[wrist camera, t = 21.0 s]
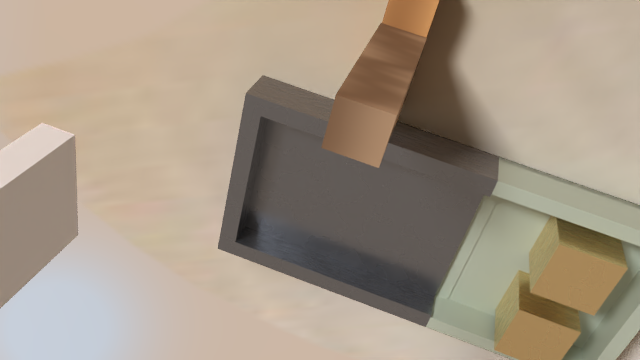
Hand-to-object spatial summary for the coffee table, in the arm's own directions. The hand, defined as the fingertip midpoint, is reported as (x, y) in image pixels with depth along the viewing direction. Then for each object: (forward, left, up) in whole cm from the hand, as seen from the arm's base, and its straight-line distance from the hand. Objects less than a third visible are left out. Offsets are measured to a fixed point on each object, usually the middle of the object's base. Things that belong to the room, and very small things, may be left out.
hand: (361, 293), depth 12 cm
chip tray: (-12, +16, -26) cm, 33 cm away
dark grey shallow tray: (+2, +16, -26) cm, 30 cm away
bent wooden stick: (+2, +4, -26) cm, 26 cm away
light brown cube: (-12, +13, -25) cm, 31 cm away
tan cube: (-12, +19, -25) cm, 34 cm away
